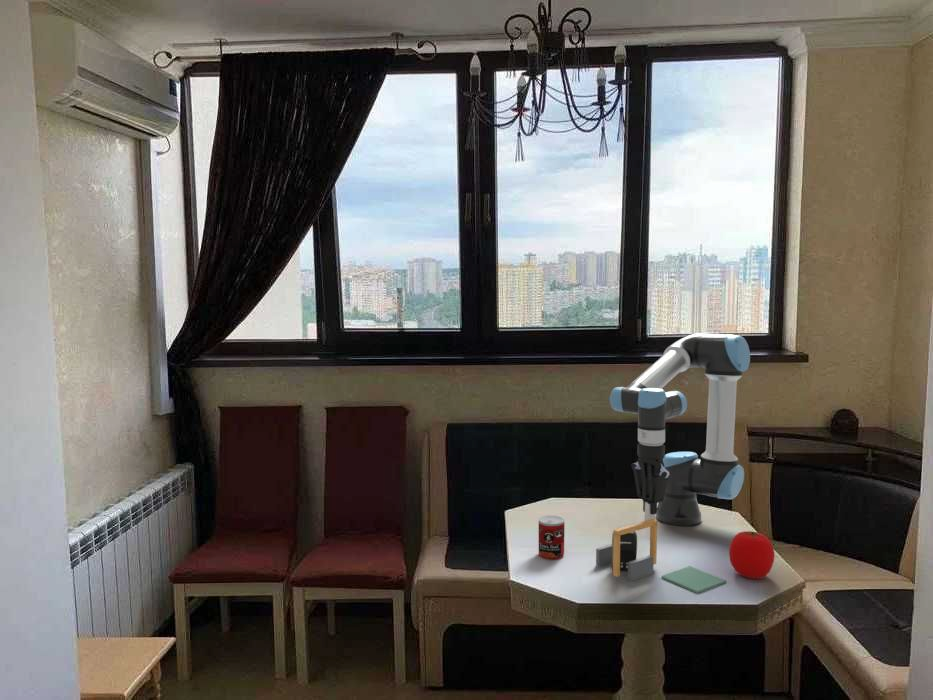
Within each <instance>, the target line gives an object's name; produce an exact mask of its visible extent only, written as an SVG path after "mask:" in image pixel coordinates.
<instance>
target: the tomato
mask: <svg viewBox="0 0 933 700" xmlns="http://www.w3.org/2000/svg"><path fill="white" fill-rule="evenodd" d="M728 551H729V552H728V555H729V561H730V563H731V566H732V568H733V570H734V571H735V572H736V573H737V574H739V575H741V576H743V577H745V578H748V579H753V580H754V579H755V580H756V579H763V578H765V577H766V576H767V575H768V574H769V573H770V571H771V570H772V567H773V564H774V562H775V549H774V547H773V544H772V542H771V541H770V539H769V538H768V537H767V536H765V535H764V534H762V533H760V532H757V531H745V530H743V531H740V532H738V533H737V534H735V535H734V536H733V538H732V540H731V542H730V546H729V550H728Z"/></svg>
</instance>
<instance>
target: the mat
mask: <svg viewBox="0 0 933 700" xmlns="http://www.w3.org/2000/svg"><path fill="white" fill-rule="evenodd" d="M661 579H663V580H665V581H668V582H670V583H672V584H674V585H677V586H678V587H679V586H680V587H681V588H684V589H686V590H689V591H691V592H693V593H695V594H701V593H703V592H705V591H708V590H711V589H714V588H716V587H718V586H721V585H724V584H726V583H727V579H726V580H725V579H723V578H721V577H718V576H716V575H715V574H714V575H713V574H710V573H708V572H705V571H703V570H701V569H698V568H696V567H693V566H690V565H689V566H686V567H683V568H681V569H677V570H674V571H672V572H669V573H665V574H663V575H661Z"/></svg>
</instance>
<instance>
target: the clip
mask: <svg viewBox="0 0 933 700" xmlns="http://www.w3.org/2000/svg"><path fill="white" fill-rule="evenodd" d="M595 552H596V553H595V556H596V557H595V565H596V566H597V567H599V566H600V567H602V565H603V566H605V565H609V564H612V562H613V555H612V543H610V544H607V545H604V546H600V547H597V548H596V550H595ZM654 565H655V564H654V556H652V555H650V554H649V555H646V556H643V557H640V558H636V560H633V561H630V562H628V571H627V581H629V580H630V582H633V581H636V580H638V579H641V578H645V577H647V576H650V575H653V574H654Z"/></svg>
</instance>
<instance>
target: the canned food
mask: <svg viewBox="0 0 933 700" xmlns="http://www.w3.org/2000/svg"><path fill="white" fill-rule="evenodd" d="M538 554H539V557H540V558H542V559H544V560H549V561H554V560H559V559H562V558H563V557H564V555H565V519H564V517H562V516H558V515H545V516H541V517H539V519H538Z"/></svg>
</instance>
